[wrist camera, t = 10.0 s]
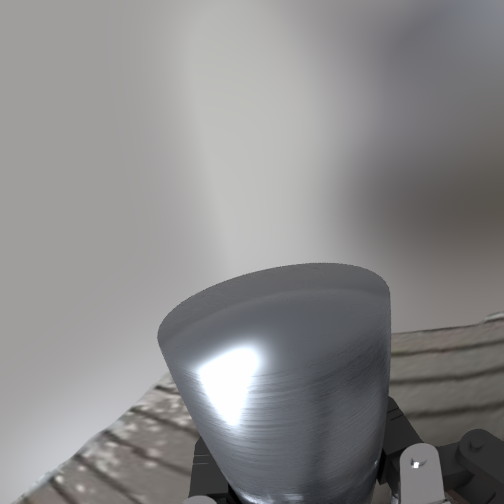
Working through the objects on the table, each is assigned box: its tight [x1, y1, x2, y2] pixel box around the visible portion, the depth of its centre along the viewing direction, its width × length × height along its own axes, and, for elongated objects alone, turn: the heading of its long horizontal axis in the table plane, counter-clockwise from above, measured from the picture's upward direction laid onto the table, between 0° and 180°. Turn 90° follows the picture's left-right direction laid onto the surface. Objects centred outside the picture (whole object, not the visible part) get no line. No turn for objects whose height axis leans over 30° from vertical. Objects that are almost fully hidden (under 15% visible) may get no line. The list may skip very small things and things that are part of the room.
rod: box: [157, 263, 391, 504], centre depth 8 cm, size 5×5×16 cm
